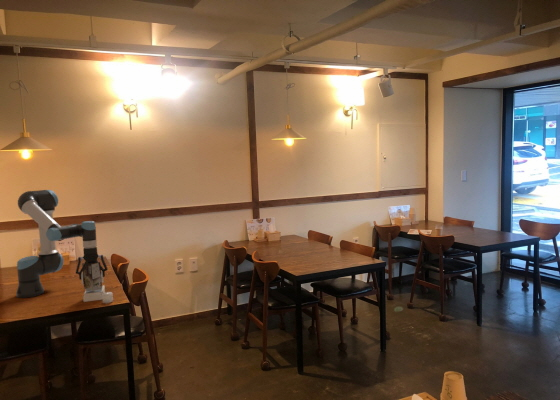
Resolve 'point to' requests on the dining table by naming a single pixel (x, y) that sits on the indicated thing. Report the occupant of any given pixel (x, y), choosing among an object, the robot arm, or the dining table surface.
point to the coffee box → (92, 276)
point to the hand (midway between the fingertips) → (92, 283)
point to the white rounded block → (107, 297)
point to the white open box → (93, 294)
